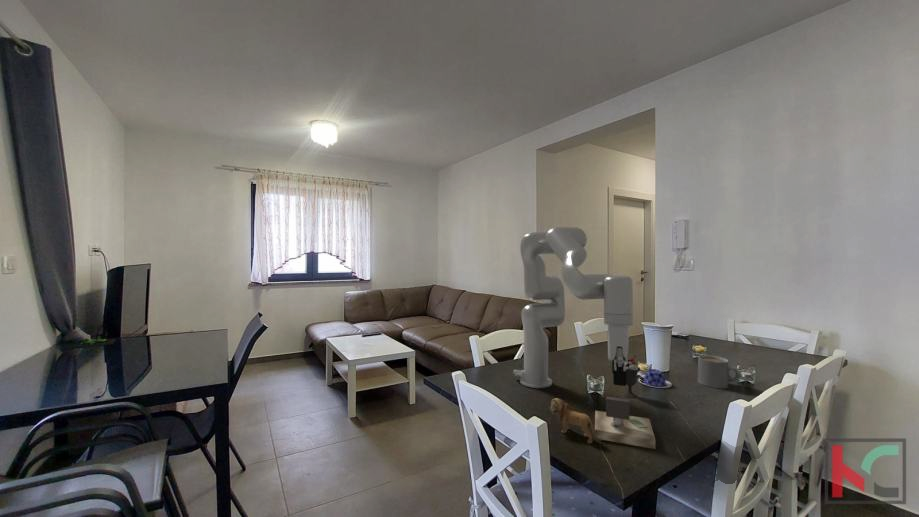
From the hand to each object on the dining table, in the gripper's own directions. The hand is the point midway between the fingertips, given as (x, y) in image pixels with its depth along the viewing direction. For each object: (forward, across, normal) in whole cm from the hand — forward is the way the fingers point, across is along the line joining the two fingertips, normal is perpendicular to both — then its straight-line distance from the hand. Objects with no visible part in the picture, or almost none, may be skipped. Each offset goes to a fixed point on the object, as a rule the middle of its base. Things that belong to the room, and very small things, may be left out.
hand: (619, 379), depth 102 cm
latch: (+13, -4, -1) cm, 13 cm away
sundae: (+16, -33, +5) cm, 37 cm away
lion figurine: (+16, +4, -12) cm, 21 cm away
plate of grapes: (+16, -50, +15) cm, 55 cm away
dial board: (+16, -2, +1) cm, 16 cm away
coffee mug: (+16, -57, +38) cm, 70 cm away
